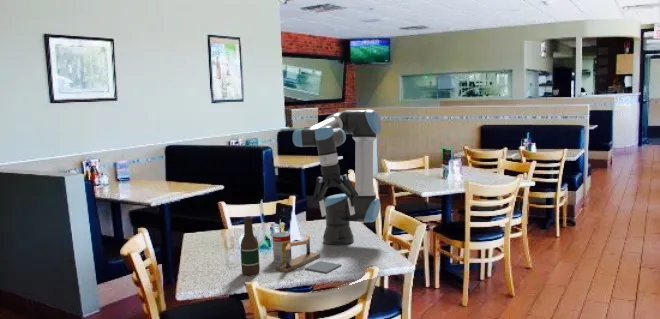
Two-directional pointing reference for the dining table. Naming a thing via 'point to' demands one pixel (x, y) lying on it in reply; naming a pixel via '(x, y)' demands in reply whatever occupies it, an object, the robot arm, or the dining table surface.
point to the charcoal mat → (323, 267)
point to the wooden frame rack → (299, 260)
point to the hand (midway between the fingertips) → (338, 215)
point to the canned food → (281, 246)
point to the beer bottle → (249, 250)
